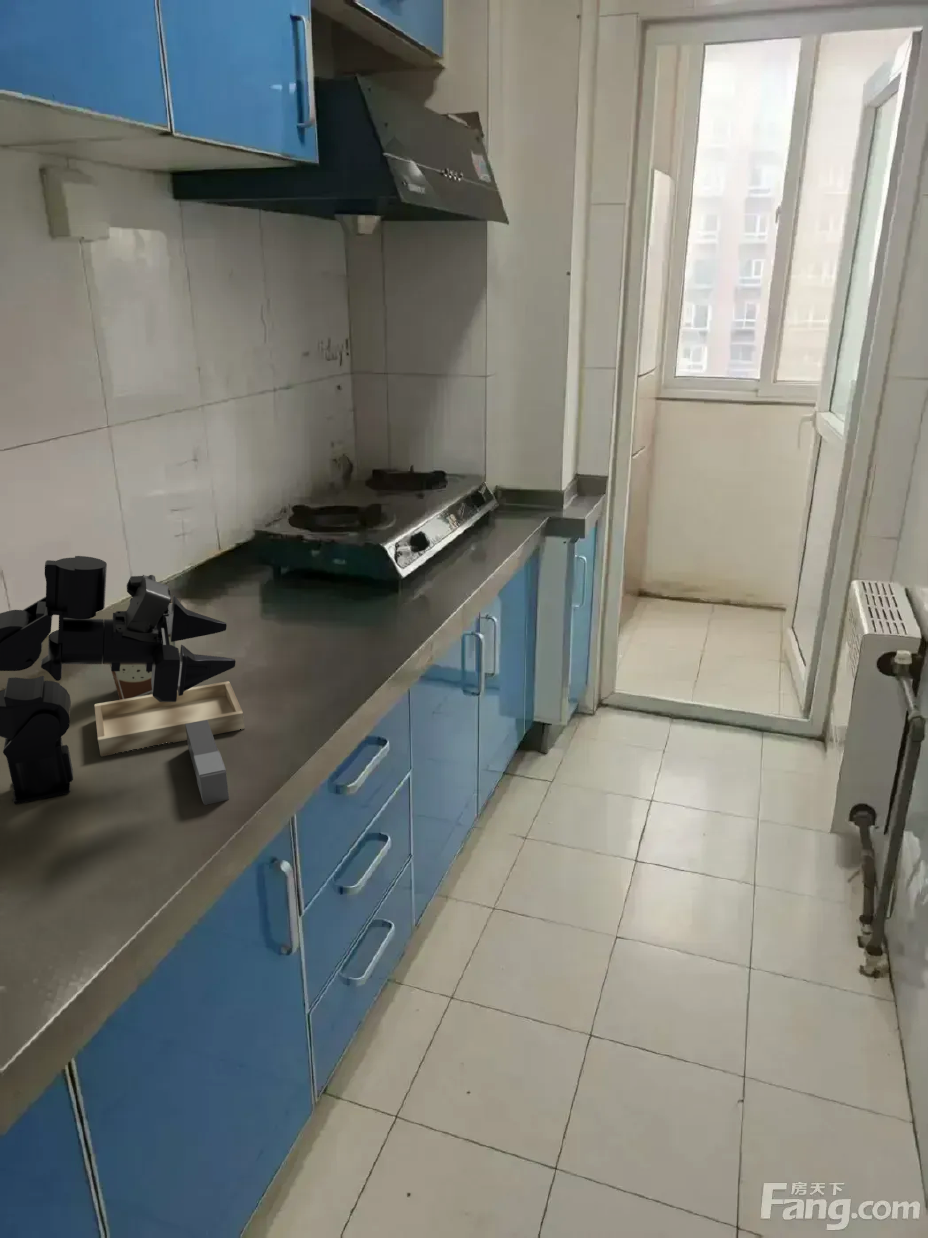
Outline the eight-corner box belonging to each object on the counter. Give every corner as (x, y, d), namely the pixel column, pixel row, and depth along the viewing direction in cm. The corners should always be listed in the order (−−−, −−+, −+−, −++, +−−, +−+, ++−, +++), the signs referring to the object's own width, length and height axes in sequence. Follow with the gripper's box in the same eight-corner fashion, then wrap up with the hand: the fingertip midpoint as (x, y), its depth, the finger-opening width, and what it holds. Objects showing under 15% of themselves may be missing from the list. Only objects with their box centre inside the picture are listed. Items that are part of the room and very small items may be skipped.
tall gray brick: (229, 799, 108) (226, 771, 106) (203, 805, 107) (200, 777, 105) (211, 744, 121) (208, 719, 119) (187, 749, 119) (184, 723, 118)
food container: (163, 669, 144) (155, 614, 140) (184, 679, 140) (177, 623, 137) (94, 694, 135) (84, 636, 131) (114, 706, 131) (105, 646, 128)
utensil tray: (100, 756, 117) (97, 739, 116) (97, 719, 127) (94, 704, 126) (244, 728, 125) (243, 713, 124) (230, 696, 135) (229, 681, 134)
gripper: (107, 624, 96) (248, 628, 102) (105, 551, 111) (228, 558, 117) (102, 705, 101) (237, 704, 107) (101, 624, 116) (219, 628, 122)
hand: (230, 644), depth 113 cm, fingers open, 9 cm apart
